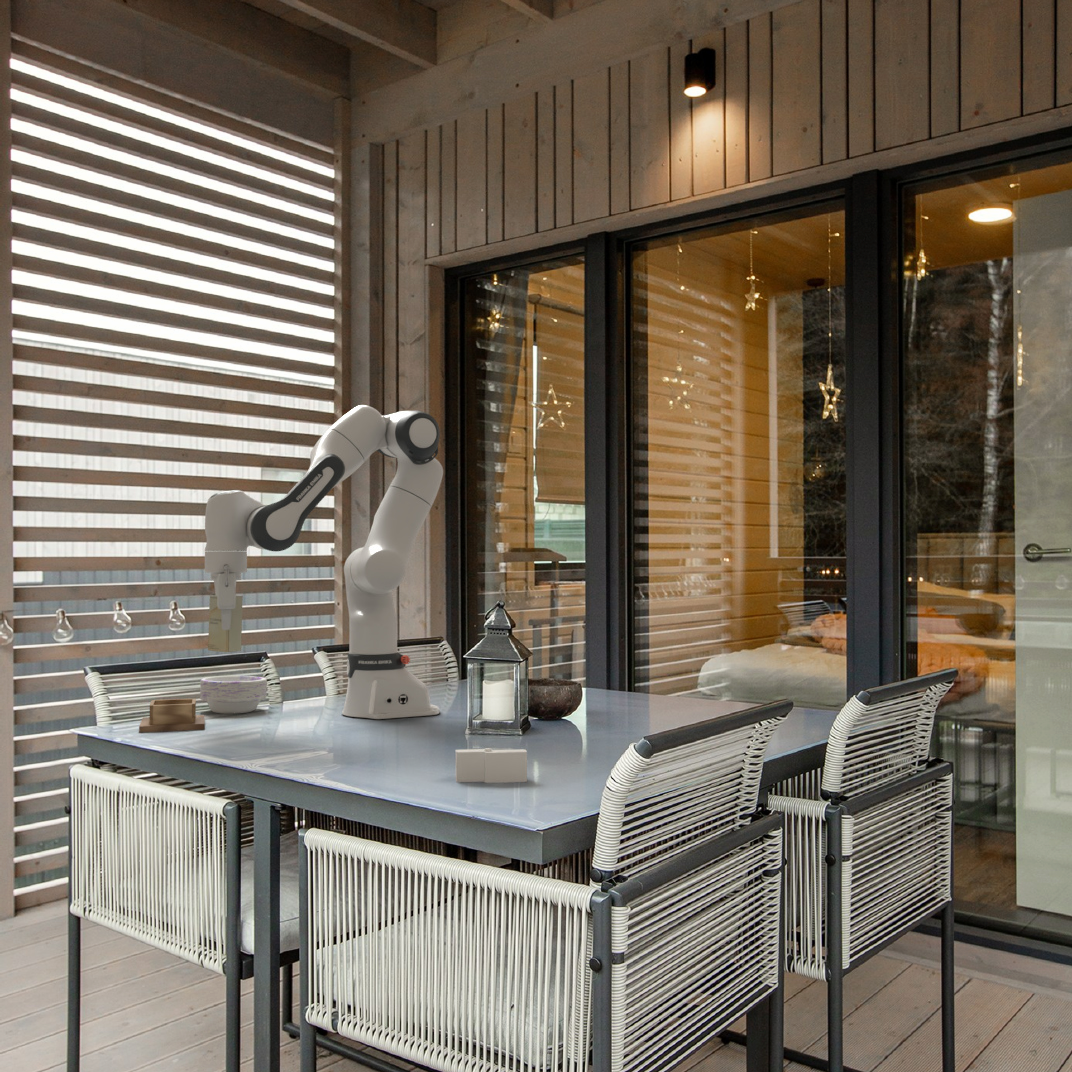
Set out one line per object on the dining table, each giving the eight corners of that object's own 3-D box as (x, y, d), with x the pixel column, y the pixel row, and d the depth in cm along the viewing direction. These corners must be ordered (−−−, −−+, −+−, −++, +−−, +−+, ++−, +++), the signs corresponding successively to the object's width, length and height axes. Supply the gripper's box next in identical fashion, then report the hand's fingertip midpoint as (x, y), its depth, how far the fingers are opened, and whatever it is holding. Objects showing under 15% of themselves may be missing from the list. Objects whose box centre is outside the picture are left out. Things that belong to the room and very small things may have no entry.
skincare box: (207, 651, 229) (207, 595, 229) (223, 649, 233) (224, 594, 233) (226, 652, 226) (227, 595, 226) (243, 651, 229) (243, 595, 229)
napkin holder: (545, 781, 175) (545, 746, 175) (509, 794, 165) (509, 758, 165) (469, 772, 183) (469, 738, 183) (431, 784, 173) (431, 749, 173)
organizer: (204, 720, 237) (204, 696, 237) (204, 729, 224) (204, 704, 224) (142, 722, 233) (143, 699, 233) (139, 732, 220) (139, 707, 220)
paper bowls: (276, 707, 257) (276, 674, 257) (251, 717, 242) (251, 682, 242) (217, 706, 259) (217, 673, 259) (188, 715, 244) (188, 681, 244)
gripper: (242, 565, 220) (242, 631, 220) (239, 564, 240) (239, 625, 240) (210, 565, 219) (210, 632, 218) (210, 564, 238) (210, 625, 238)
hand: (225, 628), depth 229 cm, fingers closed on skincare box, 7 cm apart
